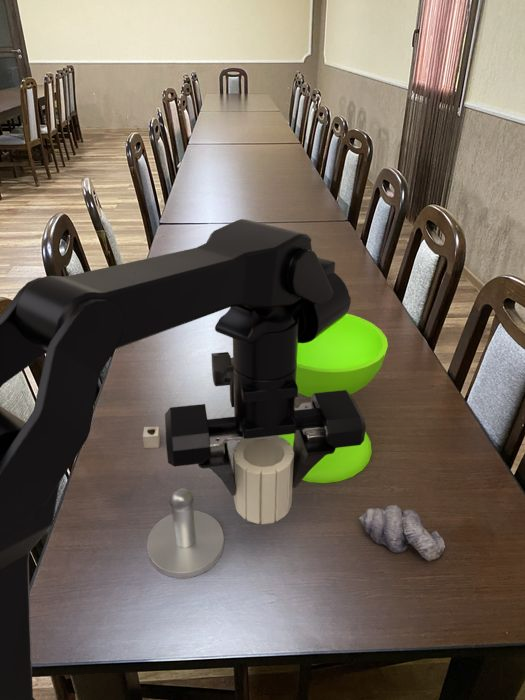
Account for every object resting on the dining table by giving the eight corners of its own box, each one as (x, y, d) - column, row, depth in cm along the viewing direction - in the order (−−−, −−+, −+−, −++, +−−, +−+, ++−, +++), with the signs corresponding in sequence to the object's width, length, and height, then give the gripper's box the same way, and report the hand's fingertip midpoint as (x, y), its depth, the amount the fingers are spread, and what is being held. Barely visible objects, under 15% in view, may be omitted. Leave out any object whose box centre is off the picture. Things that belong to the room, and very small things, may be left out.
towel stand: (147, 584, 59) (138, 529, 55) (147, 520, 67) (140, 468, 62) (228, 572, 61) (226, 518, 56) (220, 511, 68) (217, 459, 64)
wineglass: (325, 398, 89) (334, 300, 79) (395, 455, 77) (414, 348, 68) (242, 432, 81) (241, 328, 72) (305, 500, 70) (314, 387, 61)
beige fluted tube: (238, 527, 54) (237, 477, 51) (231, 484, 59) (229, 436, 56) (296, 519, 55) (299, 469, 52) (284, 478, 60) (286, 429, 57)
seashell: (441, 560, 64) (357, 537, 67) (448, 514, 64) (365, 494, 67) (442, 571, 59) (352, 546, 62) (450, 522, 59) (360, 499, 62)
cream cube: (160, 438, 80) (158, 425, 79) (159, 447, 78) (157, 434, 77) (145, 438, 80) (143, 425, 79) (144, 448, 78) (142, 435, 77)
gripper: (338, 314, 56) (328, 429, 64) (158, 328, 53) (170, 447, 62) (376, 372, 47) (358, 499, 55) (159, 392, 44) (174, 523, 52)
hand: (263, 488), depth 56 cm, fingers closed on beige fluted tube, 6 cm apart
